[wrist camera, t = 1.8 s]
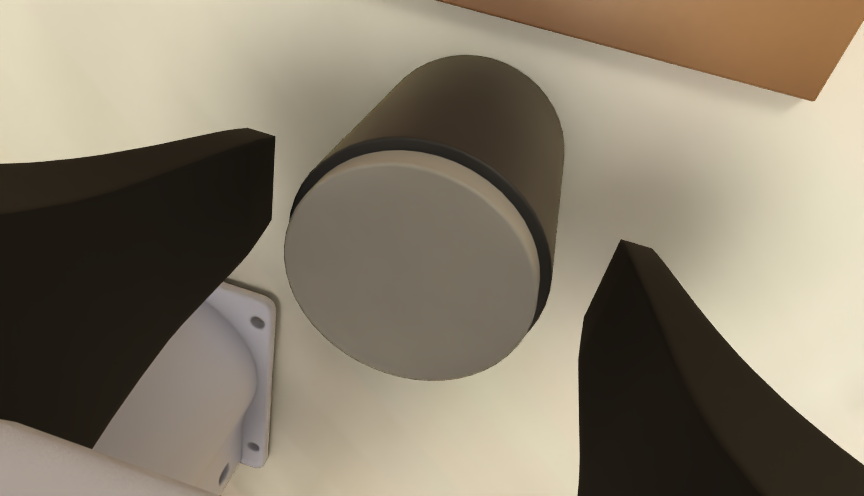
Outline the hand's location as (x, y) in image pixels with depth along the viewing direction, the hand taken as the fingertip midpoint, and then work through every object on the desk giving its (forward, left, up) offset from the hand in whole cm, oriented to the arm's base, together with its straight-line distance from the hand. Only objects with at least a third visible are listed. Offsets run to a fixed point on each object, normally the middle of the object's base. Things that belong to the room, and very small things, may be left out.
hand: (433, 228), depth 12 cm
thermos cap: (0, 0, -4) cm, 4 cm away
